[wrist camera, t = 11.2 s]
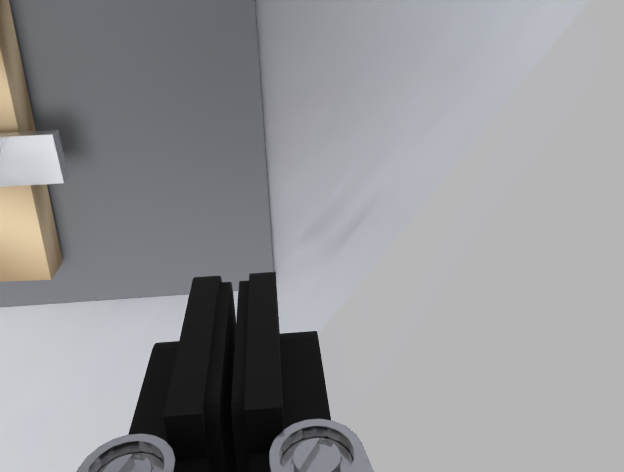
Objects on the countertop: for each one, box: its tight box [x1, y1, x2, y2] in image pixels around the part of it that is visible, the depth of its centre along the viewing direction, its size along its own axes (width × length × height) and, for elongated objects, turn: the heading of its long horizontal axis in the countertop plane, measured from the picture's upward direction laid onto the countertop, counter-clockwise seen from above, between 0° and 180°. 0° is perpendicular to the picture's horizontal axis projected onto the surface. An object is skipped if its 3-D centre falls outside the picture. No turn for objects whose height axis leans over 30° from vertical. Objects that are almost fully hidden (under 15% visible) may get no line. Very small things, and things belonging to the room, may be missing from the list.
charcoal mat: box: [0, 0, 274, 307], centre depth 30 cm, size 20×18×1 cm
